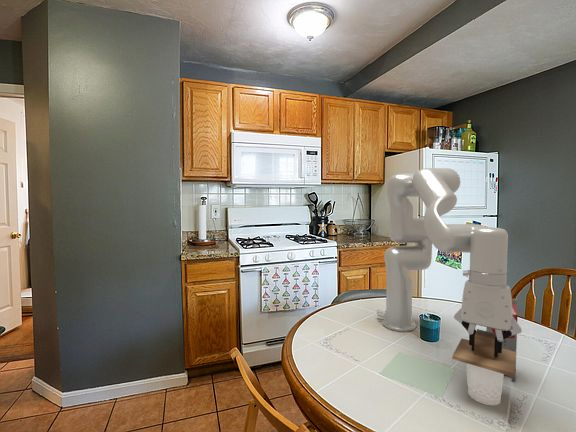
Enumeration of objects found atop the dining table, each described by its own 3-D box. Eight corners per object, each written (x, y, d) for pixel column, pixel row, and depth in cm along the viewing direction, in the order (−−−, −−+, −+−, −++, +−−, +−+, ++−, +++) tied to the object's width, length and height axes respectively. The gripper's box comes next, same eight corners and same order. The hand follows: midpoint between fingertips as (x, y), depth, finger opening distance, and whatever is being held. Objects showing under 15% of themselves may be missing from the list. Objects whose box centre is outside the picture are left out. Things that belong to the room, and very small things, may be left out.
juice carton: (515, 382, 82) (518, 302, 81) (485, 374, 86) (488, 298, 85) (512, 370, 88) (515, 296, 87) (485, 364, 91) (487, 292, 90)
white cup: (497, 393, 77) (498, 355, 77) (508, 414, 70) (509, 372, 69) (462, 387, 80) (463, 350, 79) (469, 406, 72) (470, 366, 72)
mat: (379, 377, 84) (379, 373, 84) (398, 354, 97) (398, 351, 97) (441, 401, 74) (441, 397, 74) (454, 372, 87) (454, 369, 87)
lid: (452, 358, 73) (453, 335, 73) (461, 341, 83) (462, 320, 82) (513, 377, 66) (514, 351, 65) (516, 355, 75) (517, 332, 75)
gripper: (445, 275, 76) (444, 347, 77) (531, 288, 65) (528, 370, 66) (452, 270, 81) (450, 336, 82) (531, 280, 71) (528, 356, 72)
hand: (485, 350), depth 74 cm, fingers closed on lid, 4 cm apart
